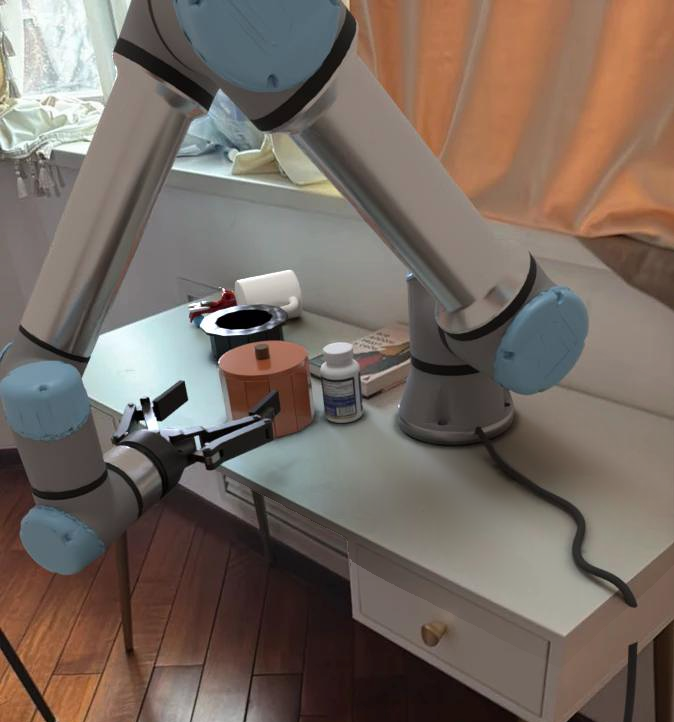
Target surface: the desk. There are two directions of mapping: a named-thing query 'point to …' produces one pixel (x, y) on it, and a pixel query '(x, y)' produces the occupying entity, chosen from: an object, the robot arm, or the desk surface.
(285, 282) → the mug
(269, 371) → the lidded pot
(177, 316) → the desk surface
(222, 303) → the hoverbike
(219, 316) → the black flanged round holder
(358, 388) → the pill bottle
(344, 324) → the desk surface
